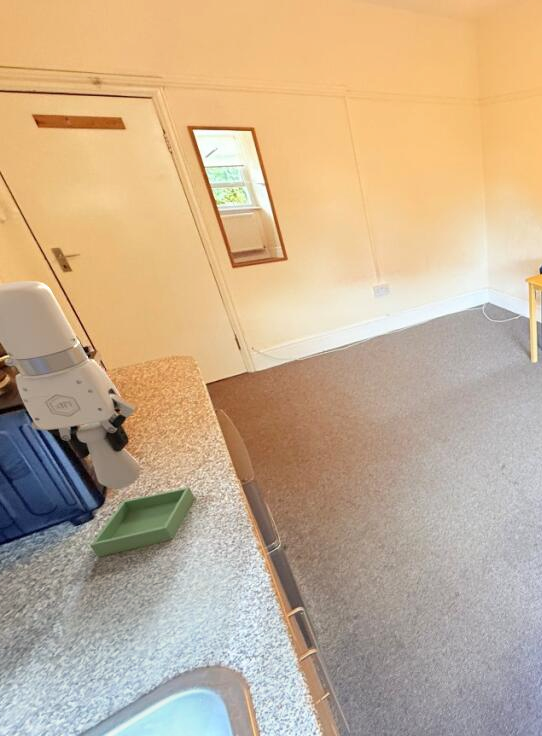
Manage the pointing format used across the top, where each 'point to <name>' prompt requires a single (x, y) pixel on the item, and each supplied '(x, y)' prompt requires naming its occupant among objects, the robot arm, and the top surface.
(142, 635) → the top surface
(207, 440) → the top surface
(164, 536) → the tray
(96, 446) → the salt shaker
